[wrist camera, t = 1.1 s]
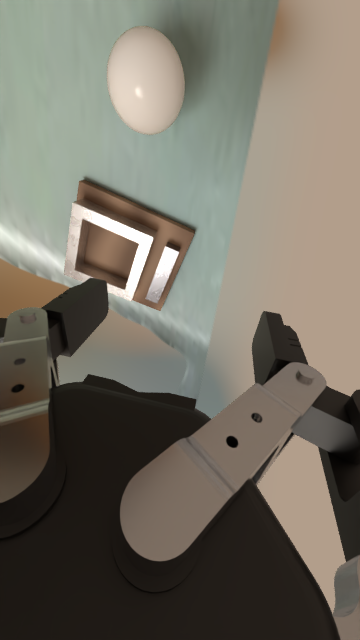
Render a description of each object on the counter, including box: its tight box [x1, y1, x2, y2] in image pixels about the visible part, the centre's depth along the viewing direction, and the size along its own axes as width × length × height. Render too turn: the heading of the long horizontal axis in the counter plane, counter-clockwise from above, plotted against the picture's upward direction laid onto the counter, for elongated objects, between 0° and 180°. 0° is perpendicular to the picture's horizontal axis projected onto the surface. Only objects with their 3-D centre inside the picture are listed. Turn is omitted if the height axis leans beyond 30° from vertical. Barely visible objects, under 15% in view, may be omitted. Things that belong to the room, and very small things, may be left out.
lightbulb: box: [107, 26, 185, 135], centre depth 22 cm, size 6×6×11 cm
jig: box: [64, 180, 195, 311], centre depth 35 cm, size 16×14×4 cm
